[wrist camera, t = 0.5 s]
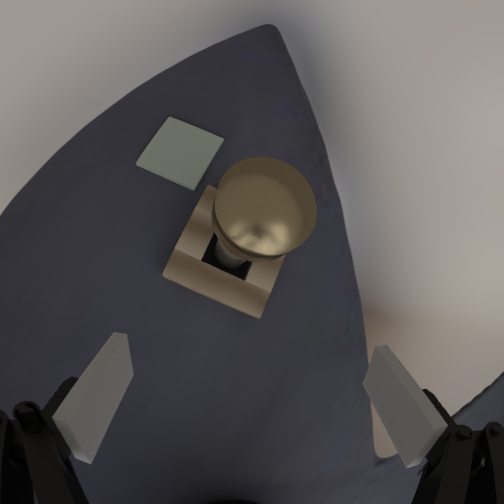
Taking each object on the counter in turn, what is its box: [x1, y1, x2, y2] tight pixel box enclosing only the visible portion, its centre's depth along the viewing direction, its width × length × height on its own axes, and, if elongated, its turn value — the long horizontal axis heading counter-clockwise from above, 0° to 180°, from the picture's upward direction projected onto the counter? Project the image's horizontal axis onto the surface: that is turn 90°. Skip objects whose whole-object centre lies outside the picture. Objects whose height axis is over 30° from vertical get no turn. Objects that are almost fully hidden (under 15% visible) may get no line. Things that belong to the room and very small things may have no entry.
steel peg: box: [211, 157, 317, 270], centre depth 26 cm, size 7×7×17 cm
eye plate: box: [162, 185, 286, 319], centre depth 33 cm, size 12×12×2 cm
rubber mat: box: [136, 116, 224, 191], centre depth 35 cm, size 9×9×1 cm
